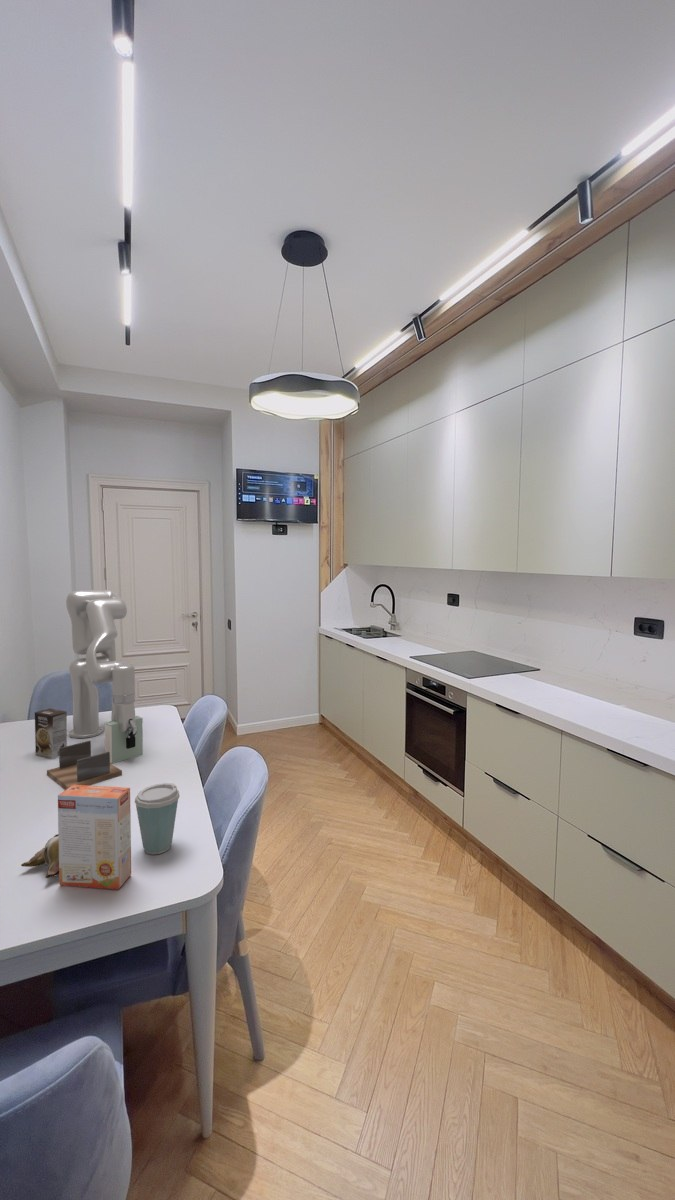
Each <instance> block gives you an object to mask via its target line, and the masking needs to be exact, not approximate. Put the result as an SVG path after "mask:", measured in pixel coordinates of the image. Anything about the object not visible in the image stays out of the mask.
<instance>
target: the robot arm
mask: <svg viewBox="0 0 675 1200" xmlns="http://www.w3.org/2000/svg"><path fill="white" fill-rule="evenodd" d="M126 604H127V603H126V602H125V601H124V599H123V598H122V597H121V596H119V595H118V594H117V593H116V592H115V591H113V590H112V589H111V590H110V589H80V590H73V591H70V593H68V595H67V596H66V601H65V605H66V610H67V612H68V615H69V617H70V621H71V622H70V623H71V639H72V650H73V652H74V654H76V655H81V656H82V655H85V657H82V658H77V659H74V660H72V662H70V665H69V667H68V669H69V676H70V680H71V688H72V689H71V690H72V692H71V693H72V726H73V727H72V729H71V730H69V733H68V737H70V738H74V739H87V738H91V737H92V738H93V737H96V736H98V735H101V734H103V732H104V728H103V727H102V726H100V724H99V723H100V720H99V719H100V717H99V715H100V713H99V690H98V687H97V686H96V685H95V684H97V685H99V684H105V683H111V684H112V685H111V686H112V687H111V688H112V690H111V691H112V693H111V695H112V704H111V718H110V719H111V720H110V722H111V721H115V722H118V723H119V731H120V732H124V731H125V732H126V735H127V738H126V748H127V749H129V748H133V747H135V736H136V733H137V726H136V718H135V716H136V710H135V703H136V690H135V689H136V684H135V683H136V679H135V677H136V676H135V674H136V673H135V666H134V665H133V664H130V663H129V662H128V661H126V660H122V659H121V660H116V659H117V658H116V654H117V653H116V640H115V639H116V638H117V637H118V630H117V628H116V623H115V620H123V619H124V618H125V617H127V612H128V608H127V605H126ZM97 654H100V655H98V656H97ZM128 728H130V729H128ZM129 731H131V732H130V734H129Z"/></svg>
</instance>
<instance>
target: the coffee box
mask: <svg viewBox="0 0 675 1200" xmlns="http://www.w3.org/2000/svg"><path fill="white" fill-rule="evenodd" d="M67 717H68V716H67V711H64V710H60V709H54V708H47V709H43V710H39V711H35V712H34V733H35V734H34V739H35V741H34V744H35V755H36V756H39V757H43V758H47V759H52V760H53V759H56V758H59V748H61V747H66V746H68V743H67V742H68V739H67V738H68V735H67V734H68V733H67V732H68V731H67V730H68V729H67V727H68V725H67V721H68V719H67Z"/></svg>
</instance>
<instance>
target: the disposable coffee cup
mask: <svg viewBox="0 0 675 1200" xmlns="http://www.w3.org/2000/svg"><path fill="white" fill-rule="evenodd" d="M179 798H180V792H179V790H178V786H177V785H176V784H175V783H170V782H164V783H163V782H162V783H156V784H153V785H150V786H147V787H145V788H143V789H142V790H140V791H139V792H138V793H137V794H136V795H135V798H134V803H135V807H136V812H137V818H138V819H137V820H138V825H139V831H140V837H141V843H142V848H143V850H144V852H145V853H146V854H149V855H160V854H163V853H166V852H167V851H168V850H170V848H171V847H172V843H173V837H174V832H175V831H174V830H175V822H176V817H177V816H176V815H177V809H178V803H179Z"/></svg>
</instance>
